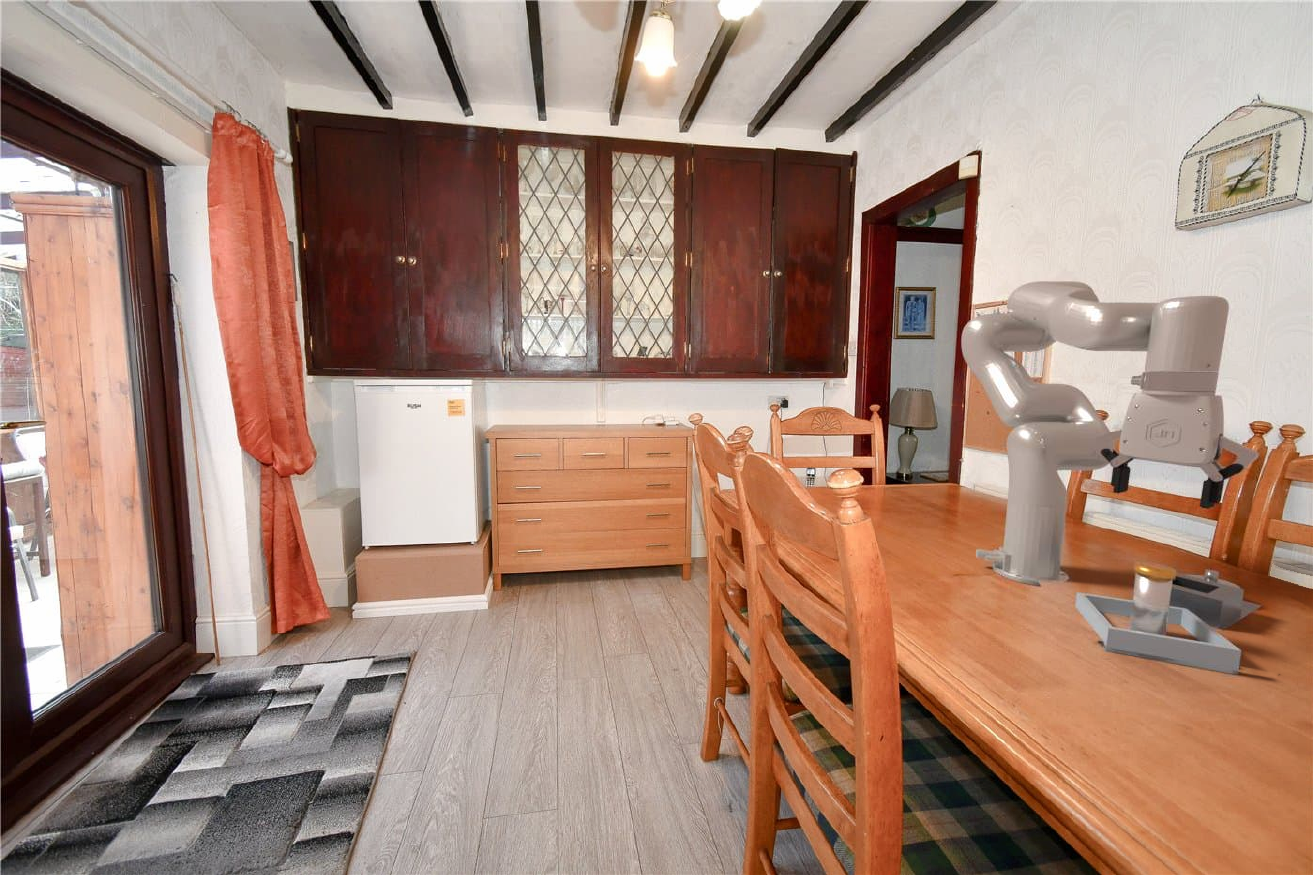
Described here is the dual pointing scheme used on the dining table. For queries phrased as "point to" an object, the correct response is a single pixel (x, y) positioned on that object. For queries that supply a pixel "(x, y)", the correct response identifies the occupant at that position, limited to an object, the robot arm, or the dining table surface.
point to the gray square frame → (1160, 636)
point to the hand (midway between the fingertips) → (1161, 499)
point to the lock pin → (1151, 597)
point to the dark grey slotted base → (1210, 599)
